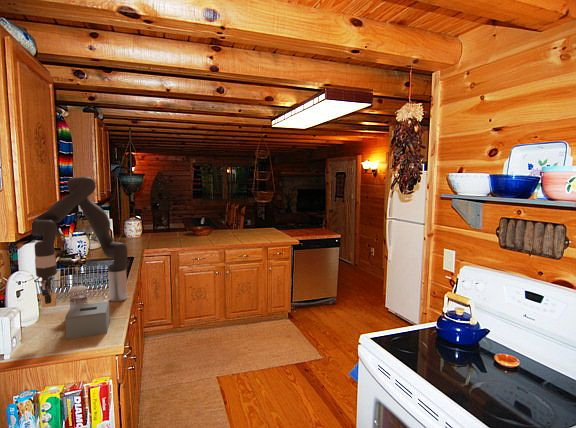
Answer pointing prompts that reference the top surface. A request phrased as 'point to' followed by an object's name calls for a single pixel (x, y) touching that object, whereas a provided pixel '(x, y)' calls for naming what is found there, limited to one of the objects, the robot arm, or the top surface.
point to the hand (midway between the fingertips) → (48, 302)
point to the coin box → (87, 319)
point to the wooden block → (53, 300)
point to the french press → (78, 298)
